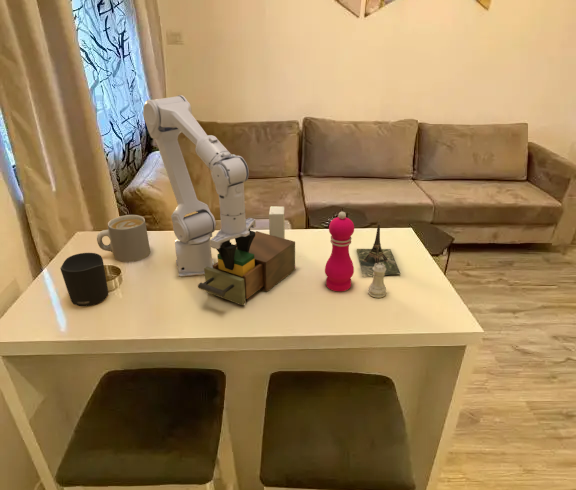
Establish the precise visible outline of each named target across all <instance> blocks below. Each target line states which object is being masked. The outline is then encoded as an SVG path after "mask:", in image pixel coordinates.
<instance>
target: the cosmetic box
mask: <svg viewBox="0 0 576 490" xmlns="http://www.w3.org/2000/svg"><path fill="white" fill-rule="evenodd" d="M268 221H269V222H268V227H269V228H268V229H269V233H268V234H269V235H273V236H276V237H280V238H284V239H286V230H285V229H286V228H285V227H286V226H285V225H286V223H285V221H286V220H285V206H278V205H277V206H276V205H275V206H274V205H273V206H272V205H271V206H270V207H269V212H268Z"/></svg>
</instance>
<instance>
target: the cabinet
mask: <svg viewBox="0 0 576 490" xmlns="http://www.w3.org/2000/svg"><path fill="white" fill-rule="evenodd" d="M254 232H255V237H254V239H253V241H252V243H251V246H250V249H249V253H251V254H254V259H255V262H258V263H262V264H264V286H263V287H262V288H261V289H259V291H262V292H266V293H268V292H269V291H270V290H271V289H273V288H274V287H275V286H276V285H278V284H279V283H280V282H281V281H283V280H284V279H285V278H286V277H289V275H290V274H292V273H293V272H294V271H296V241H294V240H291V239H287V238H285V239H284V238H280V237H276V236H273V235H270V234H269V233H265V232H261V231H257V230H256V231H254ZM234 245H236V243H234ZM236 249H237V248H236Z"/></svg>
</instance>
